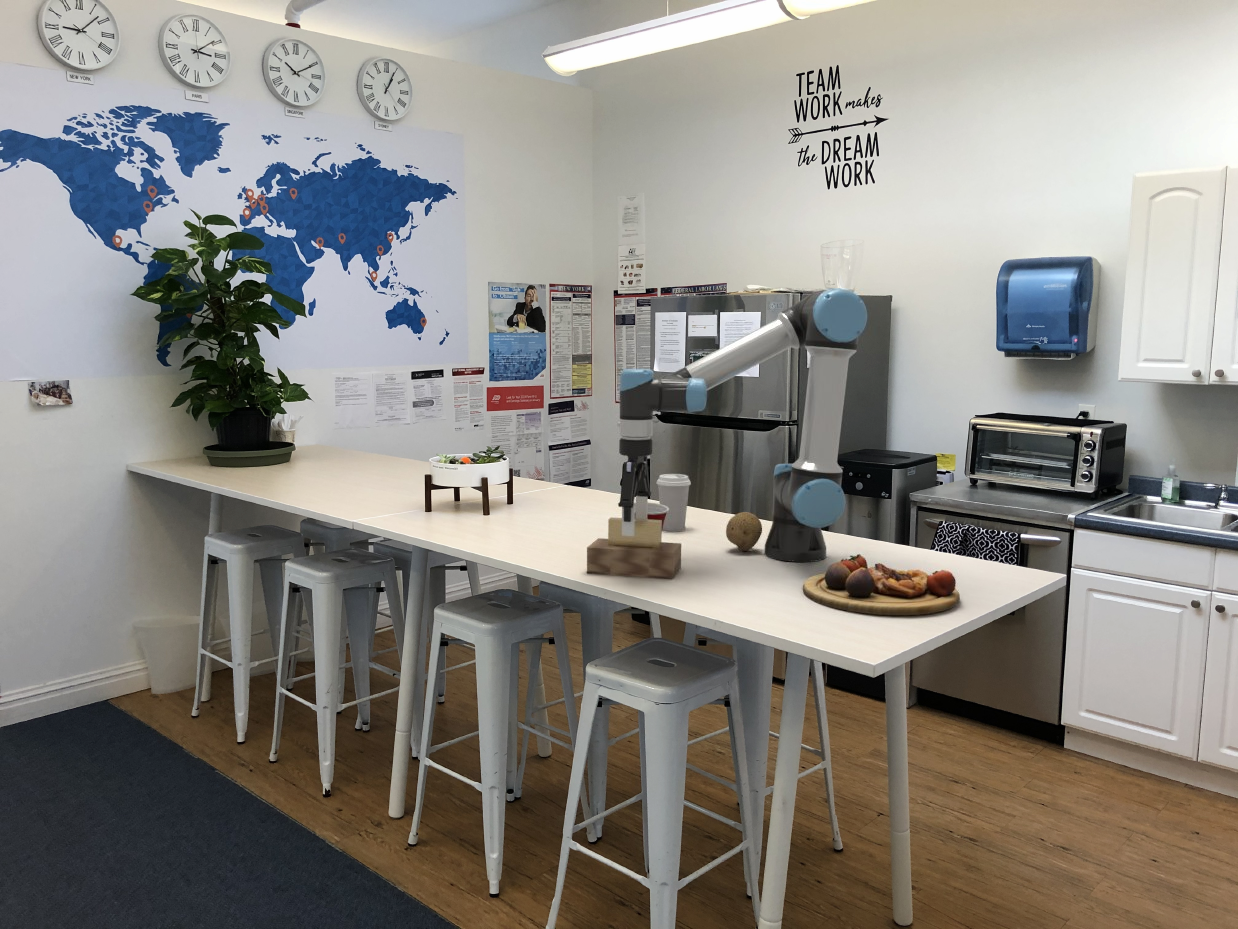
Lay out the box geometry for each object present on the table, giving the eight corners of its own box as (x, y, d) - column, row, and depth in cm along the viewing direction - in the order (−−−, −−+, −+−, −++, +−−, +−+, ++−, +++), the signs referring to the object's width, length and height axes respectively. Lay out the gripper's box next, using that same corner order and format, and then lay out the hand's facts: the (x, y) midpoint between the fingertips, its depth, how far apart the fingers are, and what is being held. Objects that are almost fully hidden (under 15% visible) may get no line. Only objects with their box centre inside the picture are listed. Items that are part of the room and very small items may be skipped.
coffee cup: (687, 533, 262) (688, 479, 260) (653, 531, 264) (653, 478, 262) (692, 526, 271) (693, 474, 269) (658, 524, 273) (659, 472, 271)
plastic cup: (644, 560, 231) (645, 511, 230) (616, 552, 240) (616, 504, 238) (677, 554, 238) (678, 506, 237) (648, 546, 247) (649, 500, 245)
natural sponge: (746, 556, 236) (747, 517, 235) (718, 550, 242) (719, 512, 241) (768, 551, 242) (769, 512, 241) (739, 545, 249) (740, 507, 247)
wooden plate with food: (985, 597, 204) (987, 559, 203) (913, 628, 181) (915, 585, 180) (852, 572, 226) (853, 538, 225) (773, 597, 203) (774, 559, 202)
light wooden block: (661, 567, 221) (661, 520, 220) (659, 569, 219) (659, 522, 217) (610, 563, 224) (610, 517, 222) (608, 566, 222) (608, 519, 220)
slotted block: (680, 568, 224) (681, 543, 223) (673, 579, 214) (673, 553, 213) (598, 562, 229) (598, 538, 228) (586, 573, 219) (586, 547, 218)
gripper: (632, 431, 230) (631, 518, 233) (606, 443, 206) (605, 539, 209) (662, 432, 228) (661, 519, 231) (640, 444, 204) (638, 542, 207)
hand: (634, 529), depth 220 cm, fingers open, 13 cm apart
